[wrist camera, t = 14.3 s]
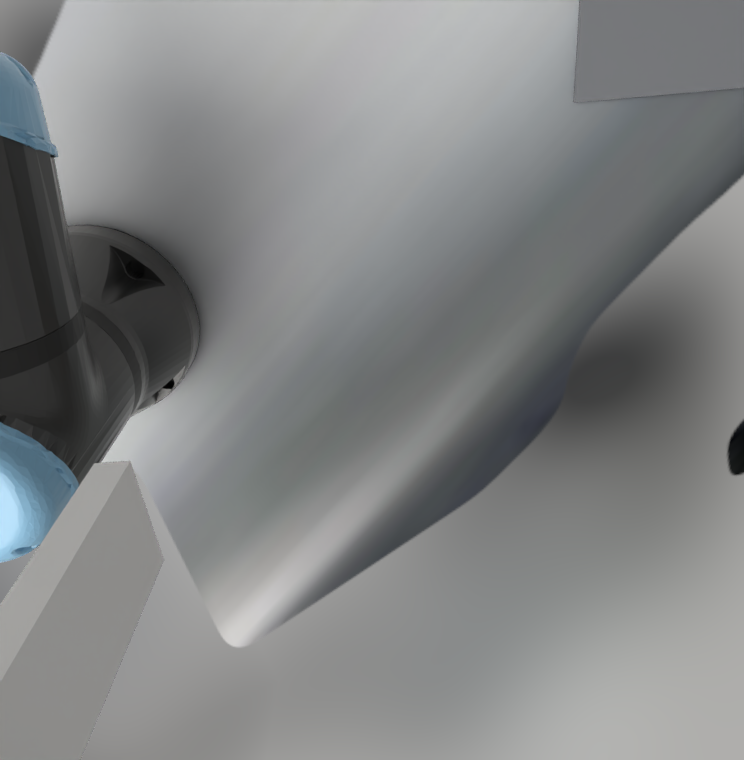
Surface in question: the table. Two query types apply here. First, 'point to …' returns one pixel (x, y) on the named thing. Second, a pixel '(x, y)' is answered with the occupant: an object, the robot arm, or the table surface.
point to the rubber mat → (658, 48)
